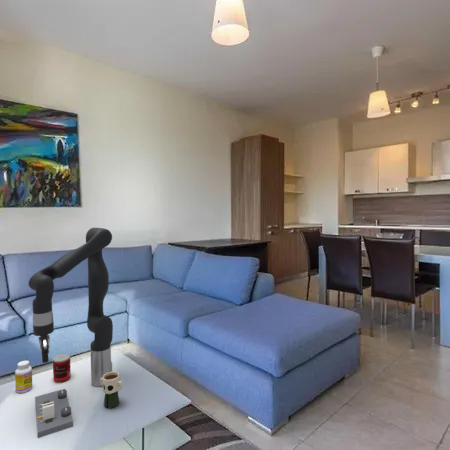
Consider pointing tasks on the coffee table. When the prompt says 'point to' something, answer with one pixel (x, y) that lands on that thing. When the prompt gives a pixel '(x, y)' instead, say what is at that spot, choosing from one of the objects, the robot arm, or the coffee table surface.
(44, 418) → the fader cap
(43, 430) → the console board
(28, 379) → the supplement bottle
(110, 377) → the character mug
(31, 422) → the coffee table surface
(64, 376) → the canned food
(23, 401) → the coffee table surface
